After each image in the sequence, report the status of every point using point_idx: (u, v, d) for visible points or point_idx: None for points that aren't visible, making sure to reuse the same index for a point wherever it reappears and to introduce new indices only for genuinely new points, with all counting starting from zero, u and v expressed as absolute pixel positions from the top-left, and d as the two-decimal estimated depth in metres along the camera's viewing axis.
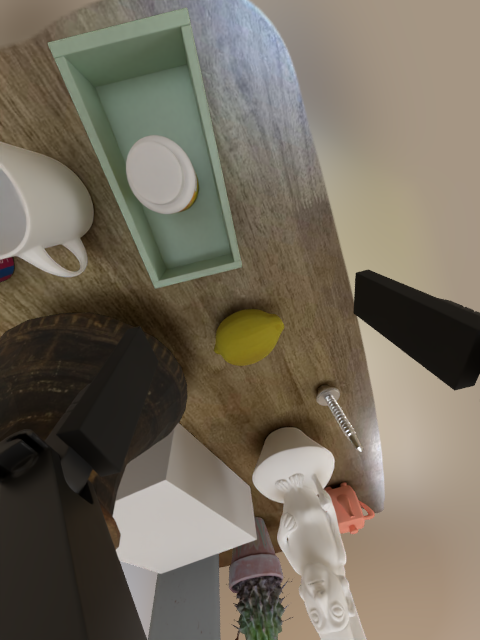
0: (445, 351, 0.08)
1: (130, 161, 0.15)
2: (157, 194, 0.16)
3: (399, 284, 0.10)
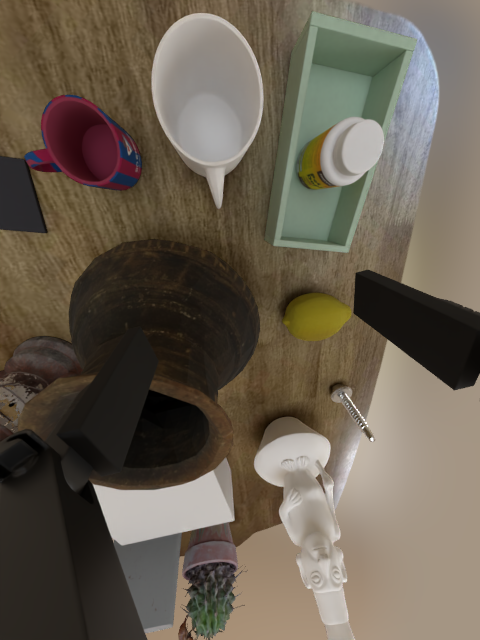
0: (445, 351, 0.08)
1: (353, 130, 0.19)
2: (355, 164, 0.20)
3: (399, 284, 0.10)
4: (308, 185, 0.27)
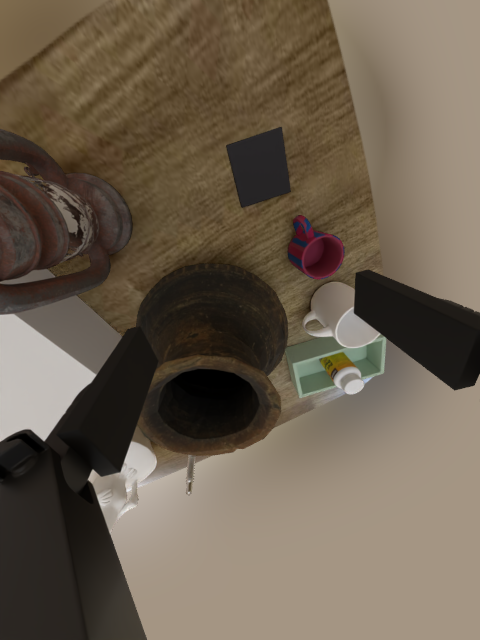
0: (445, 351, 0.08)
1: (359, 380, 0.40)
2: (348, 388, 0.41)
3: (399, 284, 0.10)
4: (322, 359, 0.48)
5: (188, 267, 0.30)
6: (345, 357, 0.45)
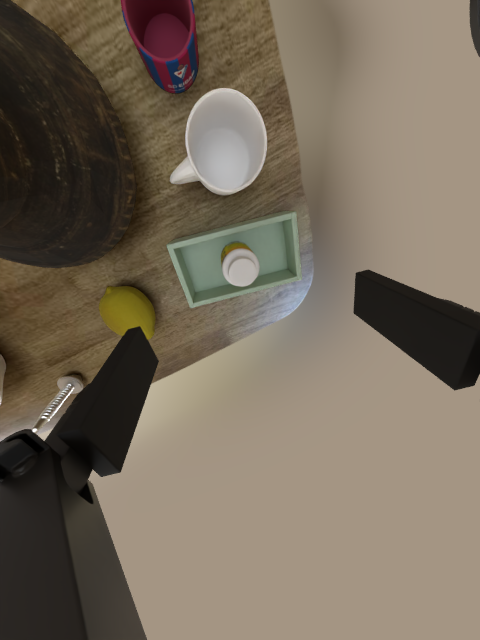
0: (445, 351, 0.08)
1: (248, 261, 0.28)
2: (233, 273, 0.29)
3: (399, 284, 0.10)
4: (221, 256, 0.36)
5: None
6: (244, 246, 0.33)
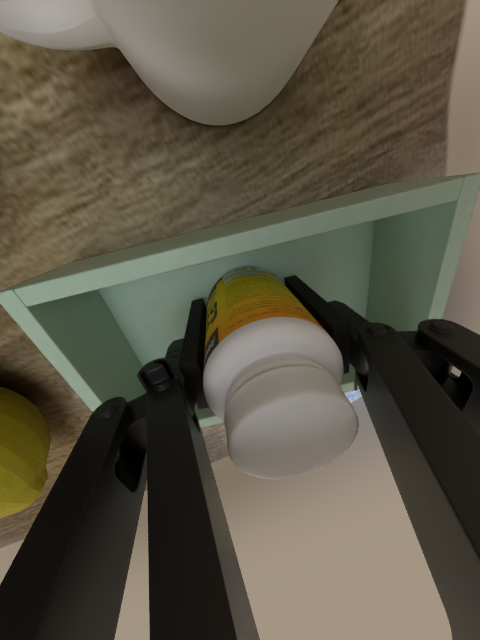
0: None
1: (329, 405, 0.06)
2: (251, 449, 0.06)
3: (307, 289, 0.12)
4: (207, 309, 0.13)
5: None
6: (280, 290, 0.10)
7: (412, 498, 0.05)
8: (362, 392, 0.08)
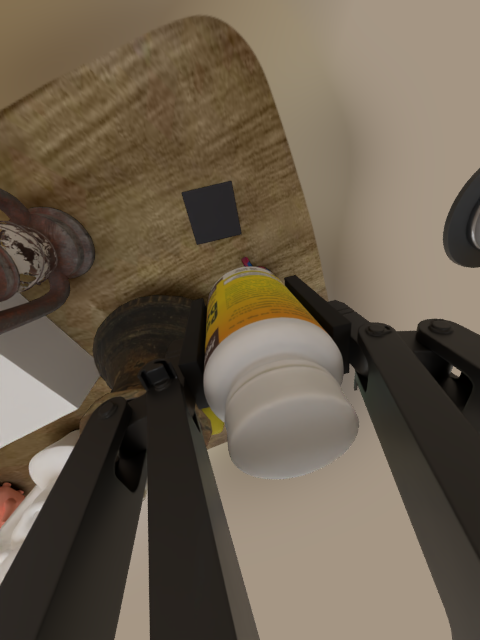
0: None
1: (329, 406, 0.06)
2: (251, 449, 0.06)
3: (307, 289, 0.12)
4: (207, 310, 0.13)
5: (143, 298, 0.33)
6: (280, 291, 0.10)
7: (412, 498, 0.05)
8: (362, 392, 0.08)
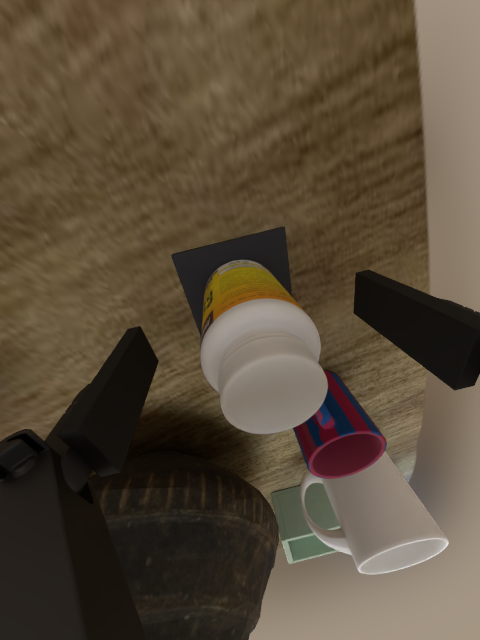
0: (445, 351, 0.08)
1: (301, 365, 0.07)
2: (239, 404, 0.07)
3: (399, 284, 0.10)
4: None
5: None
6: (268, 279, 0.11)
7: None
8: None
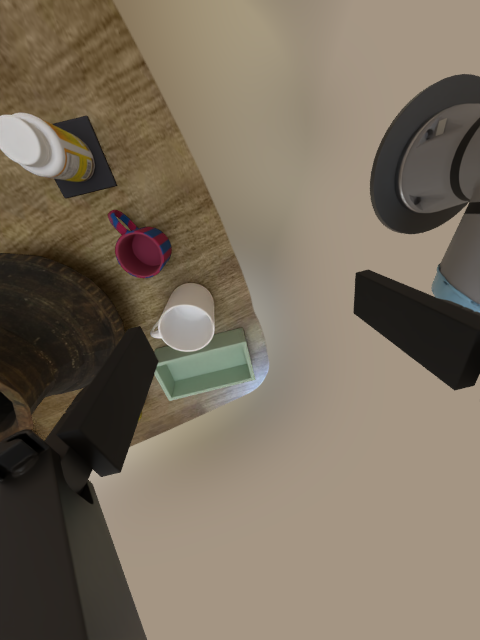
0: (445, 351, 0.08)
1: (17, 120, 0.21)
2: (1, 139, 0.21)
3: (399, 284, 0.10)
4: None
5: None
6: None
7: None
8: None
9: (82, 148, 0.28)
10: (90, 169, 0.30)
